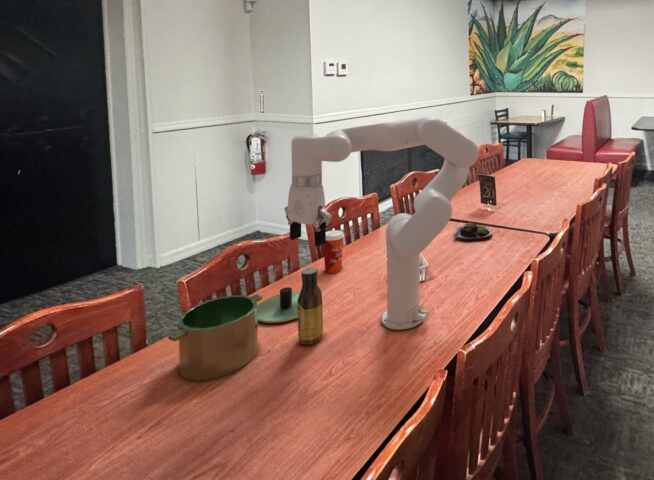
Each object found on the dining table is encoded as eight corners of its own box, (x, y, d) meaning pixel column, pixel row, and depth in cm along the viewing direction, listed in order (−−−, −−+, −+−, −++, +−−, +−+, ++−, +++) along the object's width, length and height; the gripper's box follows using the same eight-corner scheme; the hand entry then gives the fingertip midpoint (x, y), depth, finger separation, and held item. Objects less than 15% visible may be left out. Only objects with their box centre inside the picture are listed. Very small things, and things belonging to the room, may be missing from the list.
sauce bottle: (303, 333, 126) (302, 264, 126) (326, 332, 127) (325, 264, 126) (294, 347, 120) (293, 275, 119) (318, 346, 121) (317, 274, 120)
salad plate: (450, 228, 214) (450, 218, 214) (487, 225, 218) (487, 216, 218) (453, 242, 196) (454, 232, 195) (494, 240, 200) (494, 229, 199)
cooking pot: (280, 344, 121) (279, 299, 121) (193, 396, 102) (192, 342, 101) (240, 328, 128) (240, 286, 128) (152, 374, 109) (151, 324, 108)
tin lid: (329, 302, 144) (328, 283, 143) (280, 330, 128) (279, 309, 127) (291, 290, 151) (290, 272, 151) (240, 316, 135) (239, 296, 135)
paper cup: (336, 275, 163) (336, 237, 162) (317, 273, 164) (317, 235, 164) (348, 266, 171) (348, 230, 170) (330, 264, 172) (330, 228, 171)
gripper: (273, 179, 123) (274, 240, 124) (318, 186, 115) (318, 252, 116) (297, 173, 129) (298, 232, 130) (340, 180, 122) (341, 242, 123)
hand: (307, 241), depth 123 cm, fingers open, 9 cm apart
